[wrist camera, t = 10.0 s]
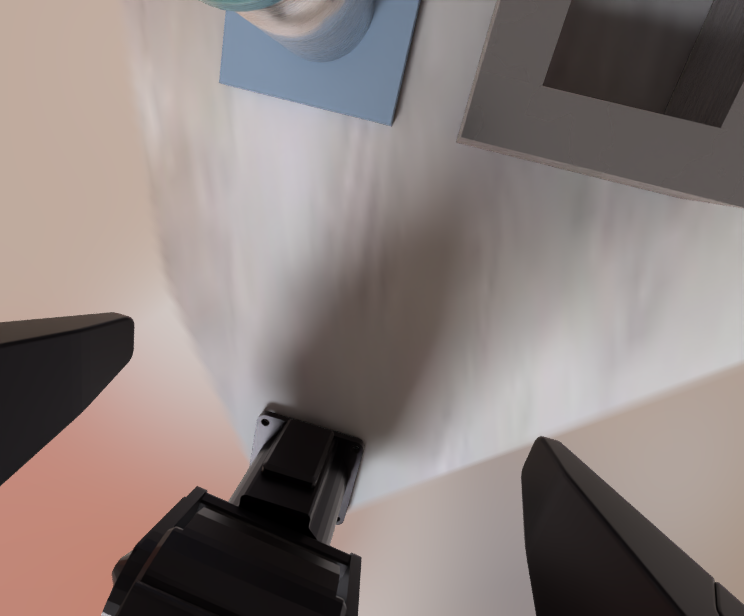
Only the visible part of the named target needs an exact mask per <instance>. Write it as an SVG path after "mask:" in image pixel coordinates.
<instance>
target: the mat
mask: <svg viewBox="0 0 744 616" xmlns="http://www.w3.org/2000/svg"><path fill="white" fill-rule="evenodd" d="M420 2H421V0H375V7H374V13H373V17H372V21H371V23H370V26H369V28H368V30H367V32H366V34H365V36H364V37H363V39H362V40H361V42H360V43H359V44H358V45H357V46H356V47H355V48H354V49H353V50H352V51H351V52H350V53H348V54H347V55H345V56H344V57H342V58H339V59H337V60H334V61H331V62H324V63H322V62H311V61H308V60H305V59H302V58H300V57H298V56H297V55H295V54H294V53H292V52H291V51H289V50H288V49H287V48H285V47H284V46H282V45H281V44H280V43H278V42H277V41H275V40H274V39H273V38H271V37H270V36H268V35H267V34H266V33H264V32H263V31H261V30H260V29H259V28H257V27H256V26H254V25H253V24H252V23H250V22H249V21H247V20H246V19H245V18H243V17H242V16H240V15H239V14H238V13H236V12H234V11H227V10H226V15H225V26H224V37H223V47H222V58H221V69H220V80H219V83H222V84H225V85H229V86H233V87H237V88H241V89H245V90H249V91H253V92H257V93H261V94H265V95H269V96H273V97H277V98H281V99H285V100H289V101H293V102H297V103H301V104H305V105H309V106H313V107H317V108H321V109H325V110H329V111H333V112H337V113H341V114H345V115H349V116H353V117H357V118H361V119H365V120H369V121H373V122H377V123H381V124H385V125H389V126H392V123H393V118H394V114H395V110H396V105H397V101H398V97H399V92H400V88H401V84H402V79H403V75H404V71H405V67H406V62H407V58H408V54H409V49H410V45H411V41H412V36H413V32H414V28H415V23H416V19H417V15H418V10H419V6H420Z"/></svg>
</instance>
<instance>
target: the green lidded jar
mask: <svg viewBox="0 0 744 616" xmlns="http://www.w3.org/2000/svg"><path fill="white" fill-rule="evenodd" d="M199 1H201V2H203V3H205V4H207V5H209V6H212V7H215V8H218V9H222V10H227V11H234V12H236V13H238V14H239V15H240V16H242V17H243V18H245V19H246V20H247V21H249V22H250V23H252V24H253V25H254V26H256V27H257V28H259V29H260V30H261V31H263V32H264V33H266V34H267V35H268V36H270V37H271V38H273V39H274V40H275V41H277V42H278V43H280V44H281V45H282V46H284V47H285V48H287V49H288V50H289V51H291V52H292V53H294V54H295V55H297V56H298V57H300V58H302V59H305V60H308V61H311V62H322V63H324V62H331V61H334V60H337V59H339V58H342V57H344V56H345V55H347V54H348V53H350V52H351V51H352V50H353V49H354V48H355V47H356V46H357V45H358V44H359V43H360V42H361V40H362V39H363V37H364V36H365V34H366V32H367V30H368V28H369V26H370V23H371V21H372V17H373V13H374V7H375V0H199Z"/></svg>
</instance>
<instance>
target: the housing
mask: <svg viewBox="0 0 744 616" xmlns="http://www.w3.org/2000/svg"><path fill="white" fill-rule="evenodd" d="M570 3H571V0H497V1H496V5H495V8H494V12H493V15H492V19H491V22H490V26H489V29H488V33H487V36H486V40H485V43H484V47H483V50H482V54H481V57H480V61H479V64H478V68H477V71H476V75H475V78H474V82H473V85H472V89H471V92H470V96H469V99H468V103H467V106H466V110H465V113H464V117H463V120H462V124H461V127H460V131H459V134H458V137H457V141H456V142H457V143H461V144H465V145H469V146H473V147H477V148H481V149H485V150H489V151H493V152H497V153H501V154H505V155H509V156H513V157H517V158H521V159H525V160H529V161H533V162H537V163H541V164H545V165H549V166H553V167H557V168H561V169H565V170H569V171H573V172H577V173H581V174H585V175H589V176H593V177H597V178H601V179H605V180H609V181H613V182H617V183H621V184H625V185H629V186H633V187H637V188H641V189H645V190H649V191H653V192H657V193H661V194H665V195H669V196H673V197H677V198H682V199H688V200H695V201H701V202H707V203H714V204H720V205H726V206H733V207H739V208H744V0H714V2H713V4H712V6H711V9H710V11H709V13H708V15H707V18H706V20H705V22H704V24H703V27H702V29H701V31H700V33H699V36H698V38H697V40H696V42H695V45H694V47H693V49H692V52H691V54H690V56H689V58H688V61H687V63H686V65H685V67H684V70H683V72H682V74H681V76H680V79H679V81H678V83H677V85H676V88H675V90H674V92H673V94H672V97H671V99H670V101H669V104H668V106H667V108H666V110H665V113H664V115H663V114H659V113H655V112H651V111H646V110H642V109H638V108H634V107H630V106H625V105H621V104H617V103H613V102H609V101H604V100H600V99H596V98H592V97H588V96H583V95H579V94H575V93H571V92H567V91H562V90H558V89H554V88H550V87H546V86H542V85H543V82H544V80H545V77H546V74H547V71H548V68H549V65H550V62H551V59H552V56H553V53H554V50H555V47H556V44H557V41H558V38H559V35H560V32H561V30H562V27H563V24H564V21H565V18H566V15H567V12H568V9H569V6H570Z"/></svg>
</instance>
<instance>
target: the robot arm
mask: <svg viewBox="0 0 744 616" xmlns="http://www.w3.org/2000/svg"><path fill="white" fill-rule="evenodd" d="M133 350H134V321H133V319H132V318H131V317H129V316H125V315H122V314H119V313H114V312H110V313H100V314H88V315H77V316H67V317H55V318H44V319H33V320H22V321H11V322H0V486H1V485H2V484H3V483H4V482H5V481H6V480H8V479H9V478H10V477H11V476H12V475H13V474H14V473H15V472H17V471H18V470H19V469H20V468H21V467H22V466H23V465H24V464H25V463H27V462H28V461H29V460H30V459H31V458H32V457H33V456H34V455H35V454H37V452H39V451H40V450H41V449H42V448H43V447H44V446H45V445H47V443H49V442H50V441H51V440H52V439H53V438H54V437H56V436H57V435H58V434H59V433H60V432H61V431H62V430H63V429H64V428H66V426H68V425H69V424H70V423H71V422H72V421H73V420H74V419H75V418H77V417H78V416H79V415H80V414H81V413H82V412H83V411H84V410H85V409H86V408H87V407H88V406H89V405H90V404H91V402H92V401H93V400H94V399H95V398H96V397H97V396H98V395H99V394H100V392H102V390H103V389H104V388H105V387H106V386H107V385H108V384H109V383H110V382H111V381H112V380H113V378H114V377H115V376H116V375H117V374H118V373H119V372H120V371H121V370H122V369H123V368H124V367H125V365H126V364H127V363H128V362H129V361H130V359H131V357H132V355H133ZM264 419H267V420H268V421H269V422H266V421H265V420H264ZM353 446H357V447H358V449H356V448H354V447H353ZM363 451H364V442H363V441H362V440H361V439H359V438H356V437H352V436H349V435H346V434H342V433H339V432H336V431H332V430H329V429H326V428H323V427H319V426H316V425H312V424H309V423H306V422H302V421H299V420H296V419H292V418H288V417H285V416H282V415H278V414H275V413H272V412H267V411H265V412H263V413H261V414H260V416H259V417H258V419H257V425H256V431H255V437H254V443H253V449H252V455H251V461H250V467H249V469H248V471H247V472H246V474H245V475H244V477H243V479H242V481H241V482H240V484H239V485H238V487H237V488H236V490H235V492H234V493H233V495H232V497H231V498H230V500H229V501H228V502H227V501H225V500H223V499H220V498H218V497H216V496H213V495H211V494H209V493H207V490H205V489H203V488H201V487H198V486H197V487H196V488H195V489H194V490H193V491H192V492H191V493H190V494H189V495H188V496H187V497H184V498H182V499H181V500H180V501H179V502H178V503H177V504H176V505H175V506H174V507H173V508H172V509H171V510H170V511H169V512H168V513H167V514H166V515H165V516H164V517H163V518H162V519H161V520H160V521H159V522H158V523H157V524H156V525H155V526H154V527H153V528H152V529H151V530H150V531H149V532H148V533H147V534H146V535H145V536H144V537H143V538H142V539H141V540H140V541H139V542H138V543H137V545H136V546H135V547H134V549H133V550H132V551H131V552H130V553H128V554H126V555H125V556H123V557H122V558H121V559H120V560H119V561H118V563H117V564H116V565H115V567H114V569H113V571H112V580H113V588H112V591H111V593H110V596H109V598H108V600H107V603H106V605H105V607H104V610H103V612H102V615H101V616H358V604H359V589H360V572H361V557H360V556H358V555H356V554H353V553H351V554H348V553H345V552H343V551H341V550H338V549H336V548H334V547H331V546H330V543H331V539H332V536H333V532H334V528H335V525H339V524H342V523H343V521H344V518H345V515H346V511H347V508H348V504H349V500H350V497H351V493H352V490H353V486H354V483H355V479H356V476H357V472H358V469H359V465H360V461H361V458H362V454H363ZM521 483H522V502H523V520H524V539H525V549H526V556H527V563H528V568H529V575H530V581H531V586H532V593H533V599H534V605H535V611H536V616H744V604H743V603H741V602H740V601H739V600H738V599H737V598H736V597H735V596H733V595H732V594H731V593H730V592H729V591H728V590H727V589H726V588H724V587H723V586H722V585H721V584H720V583H718V582H715V581H714V578H713V577H712V576H711V575H709V573H707V572H706V571H705V570H704V569H703V568H702V567H701V566H700V565H698V564H697V563H696V562H695V561H694V560H693V559H692V558H690V557H689V556H688V555H687V554H686V553H685V552H684V551H683V550H681V549H680V548H679V547H678V546H677V545H676V544H675V543H674V542H672V541H671V540H670V539H669V538H668V537H667V536H666V535H665V534H663V533H662V532H661V531H660V530H659V529H658V528H657V527H656V526H654V525H653V524H652V523H651V522H650V521H649V520H648V519H647V518H645V517H644V516H643V515H642V514H641V513H640V512H639V511H638V510H636V509H635V508H634V507H633V506H632V505H631V504H630V503H628V502H627V501H626V500H625V499H624V498H623V497H622V496H620V495H619V494H618V493H617V492H616V491H615V490H614V489H613V488H612V487H610V486H609V485H608V484H607V483H606V482H605V481H604V480H603V479H601V478H600V477H599V476H598V475H597V474H596V473H595V472H594V471H592V470H591V469H590V468H589V467H588V466H587V465H586V464H585V463H583V462H582V461H581V460H580V459H579V458H578V457H577V456H576V455H574V454H573V453H572V452H571V451H570V450H569V449H568V448H567V447H565V446H564V445H563V444H562V443H561V442H559V441H557V440H554V439H550V438H547V437H543V436H540V437H538V438H537V439H536V440H535V442H534V444H533V446H532V448H531V451H530V453H529V455H528V457H527V459H526V461H525V464H524V466H523V469H522V475H521ZM338 516H339V517H338Z"/></svg>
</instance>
